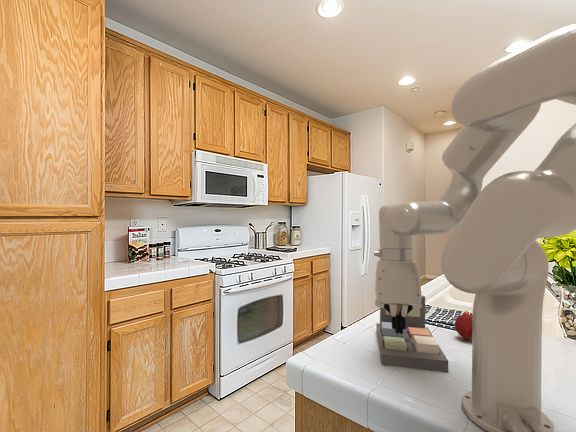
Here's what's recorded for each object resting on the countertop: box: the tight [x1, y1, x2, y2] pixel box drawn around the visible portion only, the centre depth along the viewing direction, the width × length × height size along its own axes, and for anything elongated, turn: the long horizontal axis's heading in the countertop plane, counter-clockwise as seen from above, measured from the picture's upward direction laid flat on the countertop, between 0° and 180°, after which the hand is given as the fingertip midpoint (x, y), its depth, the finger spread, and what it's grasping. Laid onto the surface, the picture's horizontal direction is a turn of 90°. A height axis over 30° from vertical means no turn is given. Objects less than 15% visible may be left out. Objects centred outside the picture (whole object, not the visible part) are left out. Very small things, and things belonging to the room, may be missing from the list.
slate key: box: [381, 322, 402, 338], centre depth 81 cm, size 5×5×2 cm
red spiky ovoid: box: [454, 310, 473, 341], centre depth 83 cm, size 6×6×8 cm
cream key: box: [413, 335, 440, 354], centre depth 72 cm, size 5×5×2 cm
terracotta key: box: [408, 327, 431, 339], centre depth 80 cm, size 5×5×2 cm
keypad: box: [375, 295, 449, 373], centre depth 77 cm, size 20×14×12 cm
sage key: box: [384, 336, 407, 351], centre depth 74 cm, size 5×5×2 cm
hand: (398, 331), depth 73 cm, fingers closed
